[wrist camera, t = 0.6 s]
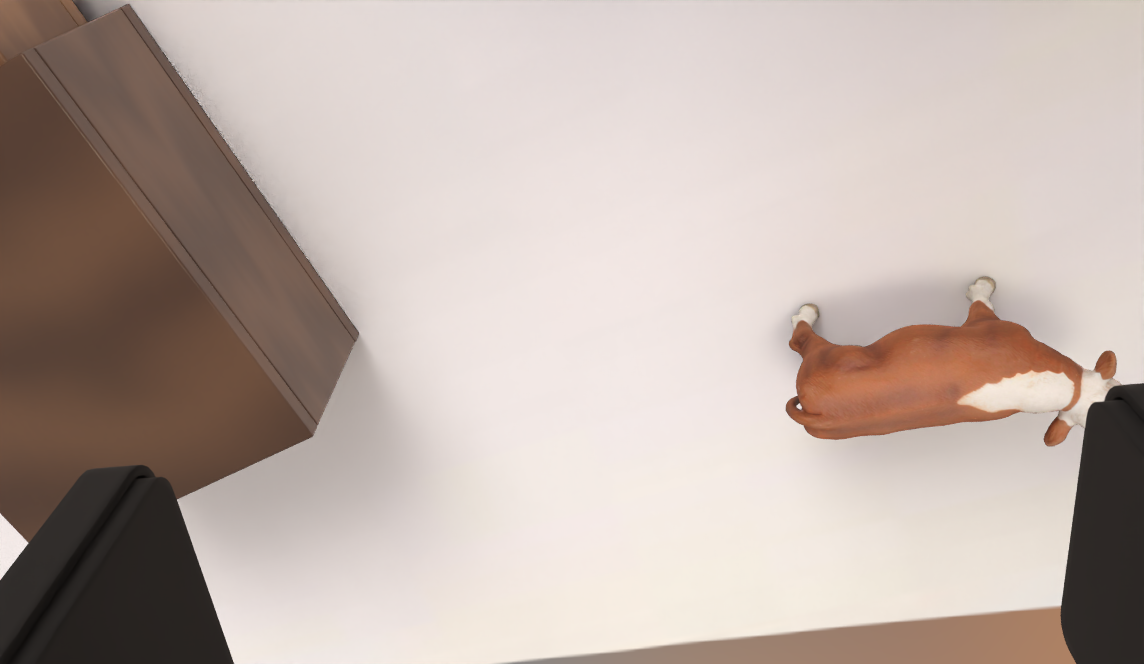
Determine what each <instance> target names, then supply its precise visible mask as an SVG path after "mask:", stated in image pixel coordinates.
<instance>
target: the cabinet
mask: <svg viewBox="0 0 1144 664" xmlns="http://www.w3.org/2000/svg"><path fill="white" fill-rule="evenodd" d="M358 335H359V333H358V331H357V330H356V329H355V327H354V326H353V324H352V323H351V321H350V320H349V319H348V317H347V316H346V314H345V313H344V311H343V310H342V309H341V307H340V306H339V304H338V303H337V301H336V300H335V299H334V297H333V296H332V294H331V293H330V291H329V290H328V289H327V287H326V286H325V284H324V283H323V281H322V280H321V279H320V277H319V276H318V274H317V273H316V271H315V270H314V268H313V267H312V266H311V264H310V263H309V261H308V260H307V258H306V257H305V256H304V254H303V253H302V251H301V250H300V248H299V247H298V246H297V244H296V243H295V241H294V240H293V238H292V237H291V236H290V234H289V233H288V231H287V230H286V228H285V227H284V226H283V224H282V223H281V221H280V220H279V218H278V217H277V215H276V214H275V213H274V211H273V210H272V208H271V207H270V205H269V204H268V203H267V201H266V200H265V198H264V197H263V195H262V194H261V193H260V191H259V190H258V188H257V187H256V185H255V184H254V183H253V181H252V180H251V178H250V177H249V175H248V174H247V173H246V171H245V170H244V168H243V167H242V165H241V164H240V163H239V161H238V160H237V158H236V157H235V155H234V154H233V152H232V151H231V150H230V148H229V147H228V145H227V144H226V142H225V141H224V140H223V138H222V137H221V135H220V134H219V132H218V131H217V130H216V128H215V127H214V125H213V124H212V122H211V121H210V120H209V118H208V117H207V115H206V114H205V112H204V111H203V110H202V108H201V107H200V105H199V104H198V102H197V101H196V99H195V98H194V97H193V95H192V94H191V92H190V91H189V89H188V88H187V87H186V85H185V84H184V82H183V81H182V79H181V78H180V77H179V75H178V74H177V72H176V71H175V69H174V68H173V67H172V65H171V64H170V62H169V61H168V59H167V58H166V57H165V55H164V54H163V52H162V51H161V49H160V48H159V46H158V45H157V44H156V42H155V41H154V39H153V38H152V36H151V35H150V34H149V32H148V31H147V29H146V28H145V26H144V25H143V24H142V22H141V21H140V19H139V18H138V16H137V15H136V14H135V12H134V11H133V9H132V8H131V6H130V5H129V4H127V5H125V6H123V7H120V8H119V9H116V10H114V11H112V12H110V13H108V14H105V15H103V16H101V17H99V18H97V19H94V20H92V21H90V22H88V23H86V24H83V25H81V26H79V27H77V28H75V29H72V30H70V31H68V32H66V33H64V34H61V35H59V36H57V37H55V38H53V39H50V40H48V41H46V42H44V43H41V44H39V45H37V46H35V47H33V48H30V49H28V50H26V51H24V52H22V53H20V54H18V55H17V56H15V57H13V58H12V59H10V60H8V61H7V62H5V63H4V64H2V65H0V513H1V514H2V516H3V517H4V518H5V519H6V520H7V521H8V522H9V523H10V524H11V525H12V526H13V527H14V528H15V529H16V530H17V531H18V532H19V533H20V534H21V535H22V536H23V537H24V539H25V540H26V541H27V542H28V543H29V542H30V541H31V540H32V538H33V537H34V536H35V534H36V533H37V532H38V530H39V529H40V528H41V527H42V525H43V524H44V523H45V521H46V520H47V519H48V517H49V516H50V515H51V513H52V512H53V511H54V510H55V508H56V507H57V506H58V504H59V503H60V502H61V500H62V499H63V498H64V497H65V495H66V494H67V493H68V491H69V490H70V489H71V487H72V486H73V485H74V483H75V482H76V481H77V480H78V478H79V477H80V476H81V475H82V474H83V473H84V472H85V471H86V470H90V469H94V468H106V467H118V466H131V465H145V466H147V467H149V468H150V469H151V470H152V472H153V473H154V475H155V477H164V478H166V479H167V480H168V481H169V482H170V484H171V486H172V488H173V490H174V493H175V496H176V499H179V498H181V497H183V496H185V495H188V494H190V493H192V492H194V491H196V490H198V489H201V488H203V487H205V486H207V485H209V484H211V483H213V482H216V481H218V480H220V479H222V478H224V477H226V476H229V475H231V474H233V473H235V472H237V471H239V470H242V469H244V468H246V467H248V466H250V465H252V464H255V463H257V462H259V461H261V460H263V459H265V458H268V457H270V456H272V455H274V454H276V453H278V452H281V451H283V450H285V449H287V448H289V447H291V446H293V445H296V444H298V443H300V442H302V441H304V440H306V439H309V438H311V437H313V435H314V433H315V431H316V428H317V425H318V423H319V421H320V419H321V417H322V414H323V412H324V410H325V408H326V406H327V403H328V401H329V399H330V397H331V394H332V392H333V390H334V388H335V385H336V383H337V381H338V379H339V377H340V374H341V372H342V370H343V368H344V365H345V363H346V361H347V359H348V356H349V354H350V352H351V350H352V348H353V345H354V343H355V342H356V340H357V337H358Z"/></svg>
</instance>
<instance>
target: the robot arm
mask: <svg viewBox="0 0 1144 664" xmlns="http://www.w3.org/2000/svg"><path fill="white" fill-rule="evenodd" d="M1061 625H1062V630H1063V635H1064V638H1065V641H1066V644H1067V646H1068V649H1069V651H1070V653H1071V654H1072V656H1073V658H1074V660H1075V662H1076V664H1144V383H1142V384H1129V385H1117V386H1114V387H1112V388H1110V389H1109V391H1108V393H1107V394H1106V396H1105V400H1104V401H1102V402H1094V403H1093V404H1091V405H1090V407H1089V409H1088V412H1087V417H1086V424H1085V431H1084V439H1083V447H1082V454H1081V462H1080V469H1079V477H1078V484H1077V492H1076V499H1075V507H1074V514H1073V522H1072V530H1071V537H1070V545H1069V552H1068V560H1067V567H1066V575H1065V582H1064V590H1063V597H1062V605H1061ZM0 664H234V662H233V660H232V657H231V654H230V651H229V648H228V645H227V642H226V639H225V637H224V634H223V631H222V628H221V625H220V622H219V619H218V617H217V614H216V611H215V608H214V605H213V602H212V599H211V596H210V594H209V591H208V588H207V585H206V582H205V579H204V576H203V574H202V571H201V568H200V565H199V562H198V559H197V556H196V553H195V551H194V548H193V545H192V542H191V539H190V536H189V533H188V531H187V528H186V525H185V522H184V519H183V516H182V513H181V510H180V508H179V505H178V502H177V499H176V496H175V493H174V490H173V488H172V486H171V484H170V482H169V481H168V480H167V479H166V478H164V477H155V475H154V473H153V472H152V470H151V469H150V468H149V467H147V466H145V465H131V466H118V467H106V468H94V469H90V470H86V471H85V472H84V473H83V474H82V475H81V476H80V477H79V478H78V480H77V481H76V482H75V483H74V485H73V486H72V487H71V489H70V490H69V491H68V493H67V494H66V495H65V497H64V498H63V499H62V500H61V502H60V503H59V504H58V506H57V507H56V508H55V510H54V511H53V512H52V513H51V515H50V516H49V517H48V519H47V520H46V521H45V523H44V524H43V525H42V527H41V528H40V529H39V530H38V532H37V533H36V534H35V536H34V537H33V538H32V540H31V541H30V542H29V543H28V545H27V546H26V547H25V549H24V550H23V551H22V553H21V554H20V555H19V557H18V558H17V559H16V560H15V562H14V563H13V564H12V566H11V567H10V568H9V570H8V571H7V572H6V573H5V575H4V576H3V577H2V579H1V580H0Z"/></svg>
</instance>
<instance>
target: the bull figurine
mask: <svg viewBox="0 0 1144 664" xmlns="http://www.w3.org/2000/svg"><path fill="white" fill-rule="evenodd" d="M994 290H995V281H994V280H993V279H991V278H989V277H981V278H979V279H977V280H976V282H975V285H970V286H969V291H968V292H967V293H966V297H967V298H968V299H969V300H970V301H972V302H973V303H972V305H971V306H970V308H969V315H968V319H967V320H966V322H965V323H964V324H963V325H962V326H961V327H951V326H942V325H911V326H906V327H903V328H900V329H897V330H895V331H893V332H891V333H889V334H887V335H886V336H884V337H882V338H881V339H879V340H878V341H876V342H875V343H873V344H871V345H869V346H866V347H862V346H852V345H848V346H842V345H836V344H832V343H830V342H828V341H827V340H825V339H824V338H822V337H820V336H818V335H816V334H815V332H814V331H813V330H812V326H813V324H814V322H815V321H816V320H817V318H818V317H819V312H818V307H817V306H816V305H814V304H806V305H804V306H802V307H801V308H800V310H799V315H794V316H792V317H791V322H792V325H793V336H792V339H791V340H790V341H789V346H790V348H791V349H792V350H794V351H796V352H798V353H799V354H800V355H801V356H802V358H803V362H802V364H801V366H800V369H799V371H798V374H797V380H796V389H797V394H798V396H796V397H793V398H791V399H790V400H789V401H788V402H787V404H786V412H787V413H788V415H789V416H790V417H791V418H792V419H793V420H794V421H796V422H798V423H799V424H801V425H804V428H805V429H806V431H807V432H808V433H809V434H810V435H812V436H814V437H816V438H821V439H834V440H839V439H847V438H852V437H858V436H868V435H885V434H889V433H894V432H898V431H903V430H910V429H917V428H924V427H934V426H944V425H950V424H955V423H960V422H982V421H990V420H998V419H1002V418H1005V417H1008V416H1010V415H1012V414H1015V413H1018V412H1028V413H1045V412H1052V411H1058V410H1059V414H1058V416H1057V417H1056V418H1055V419H1054V421H1053V422H1052V423H1051V425H1050V426H1049V428H1048V430H1047V432H1046V433H1045V436H1044V442H1045V444H1046V445H1047V446H1055V445H1057V444H1060V443H1061V442H1063V441H1064V440H1065V438H1066V436H1067V434H1068V432H1069V431H1070V429H1071V428H1072V427H1073V426H1074V425H1080V426H1081V427H1083V428H1085V424H1086V417H1087V412H1088V409H1089V407H1090V405H1091V404H1093V403H1094V402H1102V401H1104V400H1105V396H1106V394H1107V393H1108V391H1109V389H1110V388H1112V387H1114V386H1117V385H1122V384H1121V383H1119V382H1118V381H1116V380H1115V379H1113V378H1112V377H1113V376H1114V375H1115V373H1116V365H1117V361H1116V356H1115V354H1114V352H1112V351H1105V352H1104V353H1102V355H1101V356H1100V357H1099V359H1098V361H1097V363H1096V366H1095V369H1094V370H1093V371H1091V370H1087V369H1084V368H1083V367H1082V366H1080V365H1079V364H1077V363H1075V362H1074V361H1073V360H1071V359H1070V358H1068V357H1067V356H1064V355H1062V354H1061V353H1059V352H1058V351H1056V350H1054V349H1053V348H1051V347H1049V346H1047V345H1045V344H1044V343H1041V342H1039V341H1037V340H1035V339H1034V338H1033V337H1032V336H1031V334H1030V333H1029V331H1028V330H1027V329H1026V328H1024V327H1023V326H1021V325H1019V324H1016V323H1013V322H1010V321H1002V320H1000V319H999V318H998V317H997V316H996V315H995V314H994V307H993V305H992V303H991V302H990V301H989V298H990V296H991V294H992V293H993V292H994ZM799 403H800V404H801V406H802V409H801V410H800V409H798V408H797V407H796V405H798V404H799Z"/></svg>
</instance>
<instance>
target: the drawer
mask: <svg viewBox="0 0 1144 664" xmlns="http://www.w3.org/2000/svg"><path fill="white" fill-rule="evenodd" d="M86 23H88V22H87V21H86V19H85V18H84V17H83V15H82V14H81V12H80V11H79V10H78V8H77V7H76V5H75V4H74V3H73V1H72V0H0V65H2V64H4V63H5V62H7V61H8V60H10V59H12V58H13V57H15V56H17V55H18V54H20V53H22V52H24V51H26V50H28V49H30V48H33V47H35V46H37V45H39V44H41V43H44V42H46V41H48V40H50V39H53V38H55V37H57V36H59V35H61V34H64V33H66V32H68V31H70V30H72V29H75V28H77V27H79V26H81V25H83V24H86Z"/></svg>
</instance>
